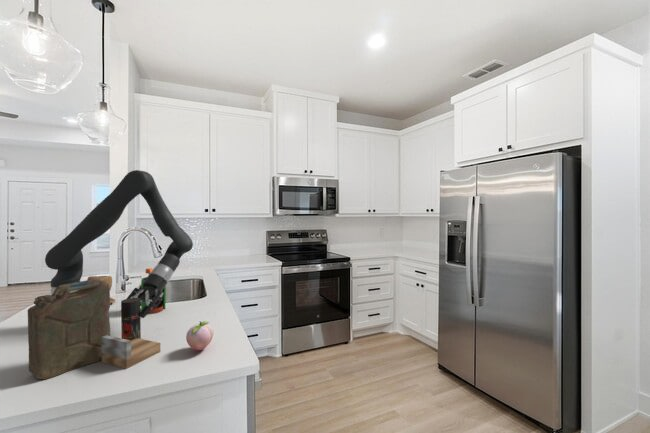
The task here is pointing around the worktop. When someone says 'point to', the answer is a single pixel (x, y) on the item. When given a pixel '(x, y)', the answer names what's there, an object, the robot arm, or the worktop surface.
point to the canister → (68, 327)
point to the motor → (161, 304)
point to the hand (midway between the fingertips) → (132, 315)
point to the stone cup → (106, 279)
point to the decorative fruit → (199, 335)
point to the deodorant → (130, 319)
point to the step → (127, 351)
